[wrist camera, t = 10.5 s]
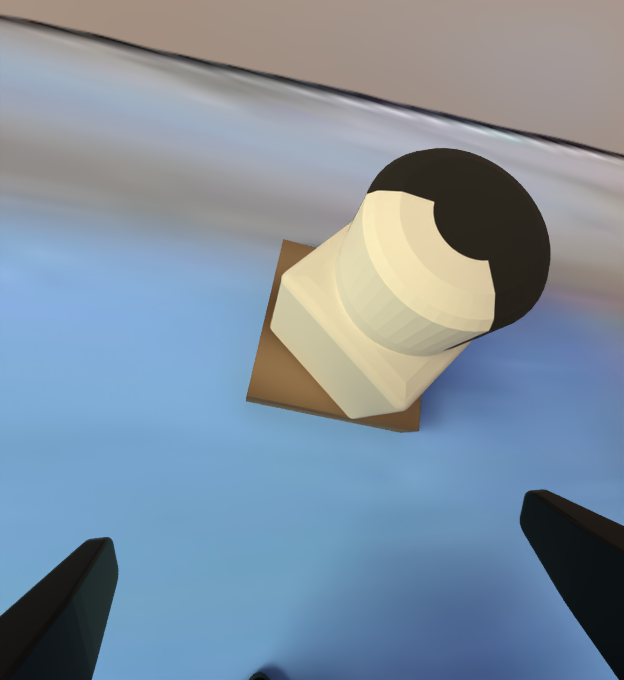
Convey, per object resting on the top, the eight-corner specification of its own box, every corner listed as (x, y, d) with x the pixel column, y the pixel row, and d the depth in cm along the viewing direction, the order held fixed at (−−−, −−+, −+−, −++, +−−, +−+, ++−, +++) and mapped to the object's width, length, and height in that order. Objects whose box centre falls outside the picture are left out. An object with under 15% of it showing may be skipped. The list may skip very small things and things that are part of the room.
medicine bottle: (352, 259, 23) (462, 79, 11) (430, 342, 22) (627, 243, 11) (266, 327, 21) (294, 192, 9) (351, 422, 20) (491, 403, 9)
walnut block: (397, 433, 23) (418, 430, 21) (245, 402, 22) (246, 395, 19) (410, 296, 27) (430, 278, 24) (278, 262, 25) (283, 239, 22)
